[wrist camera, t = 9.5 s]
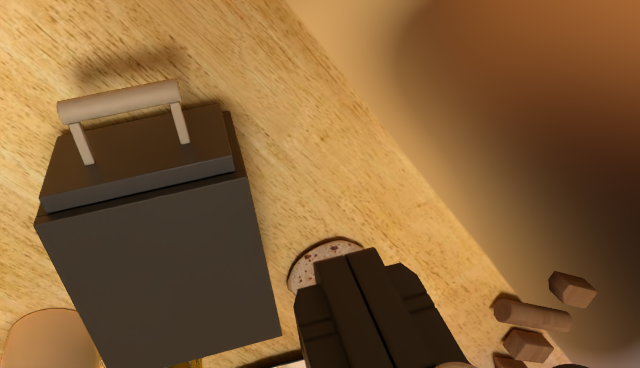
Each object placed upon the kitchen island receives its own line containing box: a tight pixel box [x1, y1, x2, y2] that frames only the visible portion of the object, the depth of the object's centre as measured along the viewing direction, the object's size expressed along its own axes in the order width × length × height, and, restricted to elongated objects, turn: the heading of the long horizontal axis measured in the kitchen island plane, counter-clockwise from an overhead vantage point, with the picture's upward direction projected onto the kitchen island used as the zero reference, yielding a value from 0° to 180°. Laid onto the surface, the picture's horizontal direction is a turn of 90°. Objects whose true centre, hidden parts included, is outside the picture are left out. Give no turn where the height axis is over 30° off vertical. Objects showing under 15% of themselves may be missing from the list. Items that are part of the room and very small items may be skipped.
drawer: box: [39, 78, 236, 213], centre depth 39 cm, size 18×11×8 cm, turn 7°
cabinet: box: [33, 111, 282, 368], centre depth 41 cm, size 15×13×10 cm
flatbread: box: [287, 240, 363, 296], centre depth 52 cm, size 8×8×1 cm
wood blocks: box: [494, 271, 597, 368], centre depth 65 cm, size 25×3×10 cm
